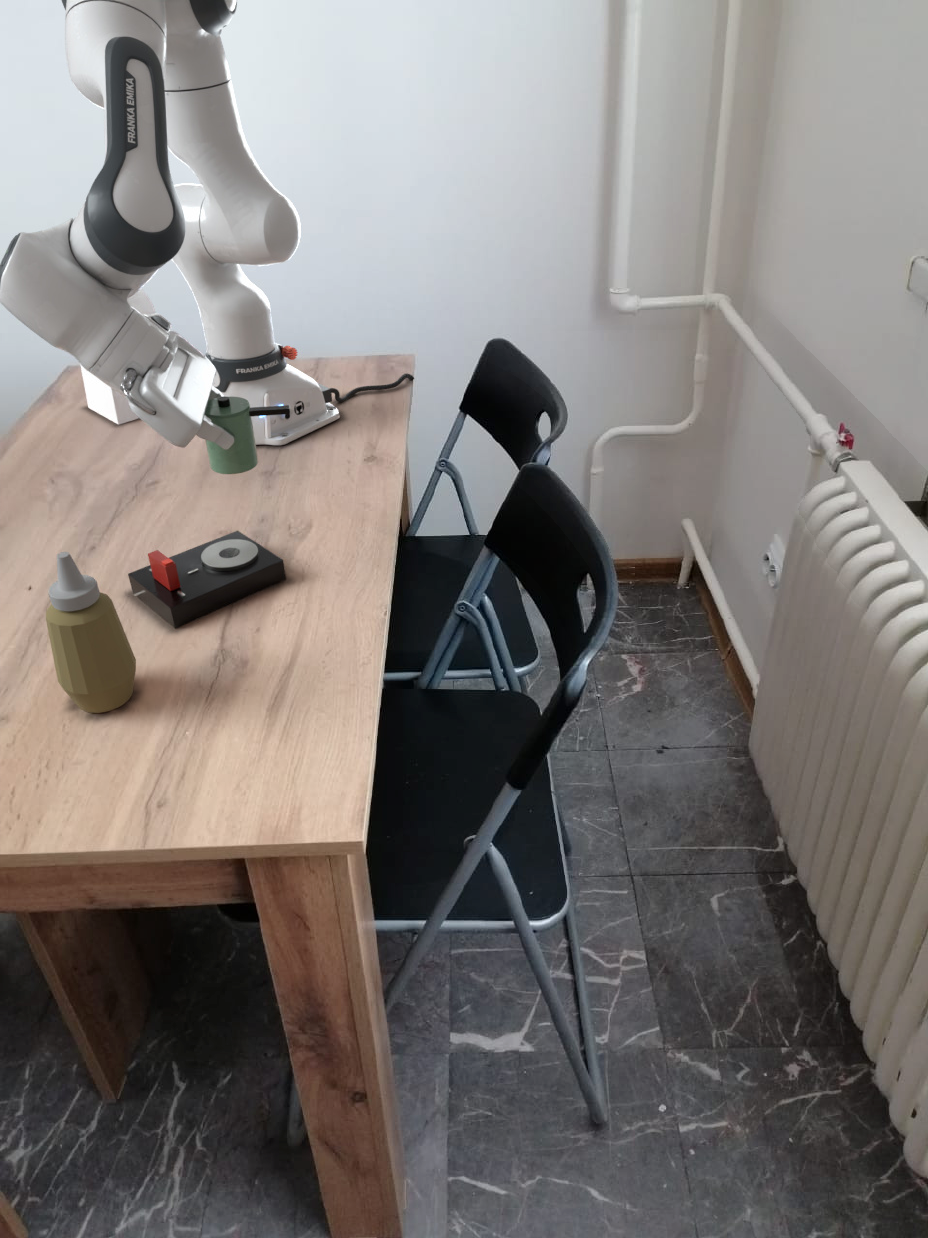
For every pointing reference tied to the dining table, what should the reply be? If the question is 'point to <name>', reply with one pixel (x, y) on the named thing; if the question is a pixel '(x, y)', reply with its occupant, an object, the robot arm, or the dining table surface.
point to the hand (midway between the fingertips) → (234, 431)
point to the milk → (103, 395)
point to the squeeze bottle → (88, 641)
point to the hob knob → (164, 570)
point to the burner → (229, 555)
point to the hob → (205, 583)
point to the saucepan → (236, 433)
